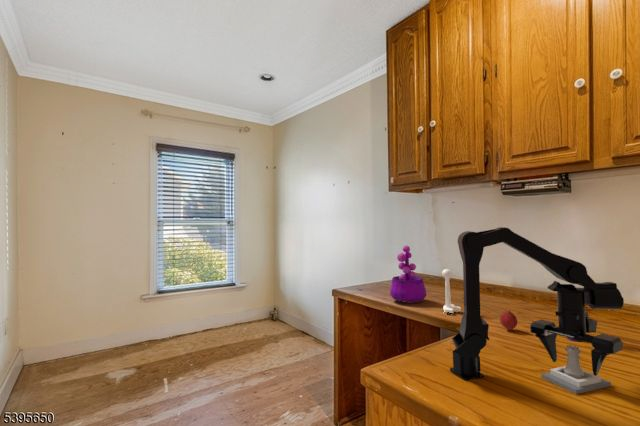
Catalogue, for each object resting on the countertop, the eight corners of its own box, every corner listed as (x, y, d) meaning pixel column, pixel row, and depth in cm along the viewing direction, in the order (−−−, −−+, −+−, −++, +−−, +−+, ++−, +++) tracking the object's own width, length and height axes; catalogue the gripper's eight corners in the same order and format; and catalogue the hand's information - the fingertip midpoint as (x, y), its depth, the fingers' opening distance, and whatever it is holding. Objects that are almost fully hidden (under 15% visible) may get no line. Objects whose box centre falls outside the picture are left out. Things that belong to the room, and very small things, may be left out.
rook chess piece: (559, 375, 87) (558, 345, 87) (570, 372, 88) (569, 342, 88) (577, 383, 82) (576, 351, 83) (589, 379, 84) (587, 348, 84)
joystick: (444, 308, 159) (442, 267, 160) (461, 309, 156) (459, 267, 156) (442, 314, 149) (440, 270, 150) (460, 315, 146) (458, 271, 146)
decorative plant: (408, 308, 161) (406, 247, 162) (383, 300, 177) (381, 245, 178) (434, 302, 171) (432, 245, 172) (408, 296, 187) (406, 243, 188)
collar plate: (575, 394, 79) (575, 385, 79) (541, 377, 88) (541, 369, 88) (611, 385, 83) (610, 377, 83) (574, 370, 91) (574, 362, 91)
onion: (503, 326, 130) (502, 306, 130) (519, 330, 125) (518, 309, 126) (498, 330, 125) (497, 309, 126) (515, 333, 121) (514, 312, 122)
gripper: (630, 311, 81) (634, 374, 81) (549, 297, 98) (551, 349, 97) (610, 318, 76) (614, 386, 76) (527, 302, 93) (530, 358, 92)
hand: (574, 368), depth 85 cm, fingers open, 9 cm apart
